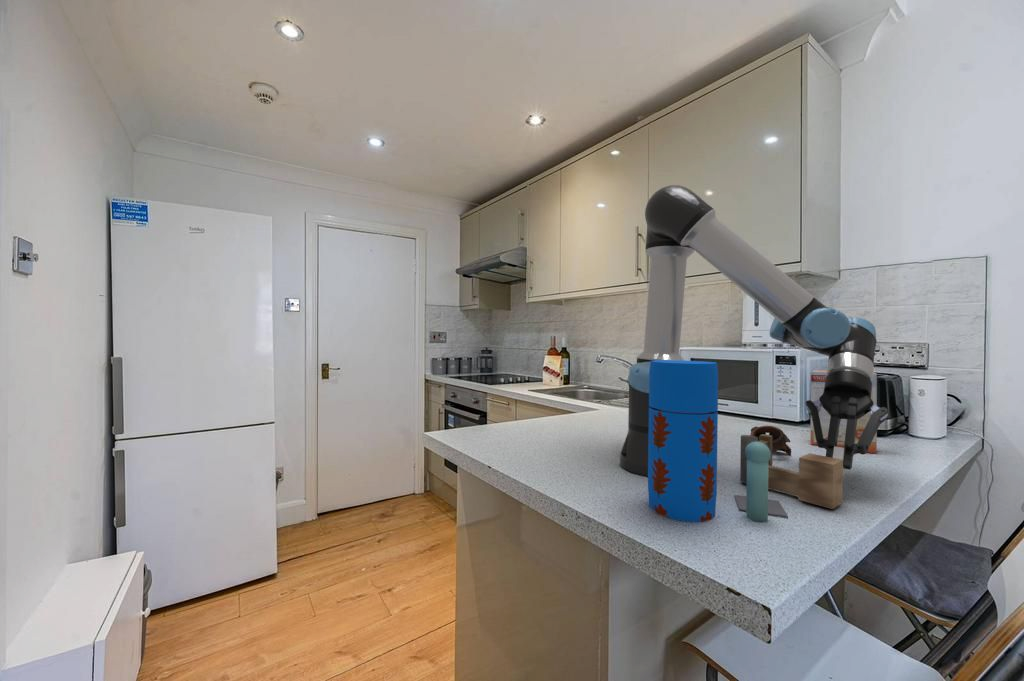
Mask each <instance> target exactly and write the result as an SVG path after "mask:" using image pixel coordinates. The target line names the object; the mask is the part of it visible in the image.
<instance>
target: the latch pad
mask: <svg viewBox="0 0 1024 681" xmlns="http://www.w3.org/2000/svg"><path fill="white" fill-rule="evenodd" d="M733 497H734V500H735V502H736V506H737V508H739V509H738V512H745V513H746V498H747V495H739V494H734V495H733ZM771 515H774V516H773V517H778V516H780V517H779V518H786V517H787V518H786V519H789V515H788V514H787V512H786V510H785V508H784V507H783V505H782V504H781V502H780V501H779V500H775V499H769V498H768V516H771Z"/></svg>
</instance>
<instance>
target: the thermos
mask: <svg viewBox="0 0 1024 681" xmlns="http://www.w3.org/2000/svg"><path fill="white" fill-rule="evenodd" d="M718 370H719V369H718V363H717V362H715V361H713V362H712V361H701V360H699V361H698V360H697V361H696V360H685V361H677V360H655V361H651V363H650V370H649V435H648V476H647V491H648V494H647V495H648V507H649V508H650V509H651V510H652V511H653V512H655V513H657V514H658V515H660V516H663V517H665V516H666V517H665V518H668V519H672V520H675V521H676V520H677V521H680V520H681V521H680V522H691V523H696V522H697V523H698V522H699V523H700V522H701V523H702V522H706V521H710V520H712V519H713V518H714V517H715V516H716V509H717V508H716V507H717V506H716V504H717V489H718V486H717V485H718V428H719V426H718V423H719V422H718V421H719V420H718V418H719V415H718V410H719V409H718V408H719V371H718Z"/></svg>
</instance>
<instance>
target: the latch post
mask: <svg viewBox="0 0 1024 681" xmlns="http://www.w3.org/2000/svg"><path fill="white" fill-rule="evenodd" d="M745 455H746V457H747V483H746V496H747V498H746V512H745V514H746V515H745V516H746V518H748V519H749V518H750V520H752V521H756V522H760V521H761V522H762V523H763V521H765V522H767V521H768V520H769V519H768V518H769V517H768V516H769V515H768V499H769V488H768V464H769V459H770V457H771V452H770V449H769V448H768V447H767V446H766V445H765V444H764V443H761V442H751V443H749V444H748V445H747V446H746V449H745Z"/></svg>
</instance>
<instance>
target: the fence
mask: <svg viewBox="0 0 1024 681" xmlns="http://www.w3.org/2000/svg"><path fill="white" fill-rule="evenodd" d="M758 442H761V443H764V444H765V445H766V446H767V447H768V448H769V449H770V452H771V457H770V459H769V464H768V465H770V466H773V451H772V444H773V436H772V435H769V434H766V435H765V434H761V435H760V441H758Z"/></svg>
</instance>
